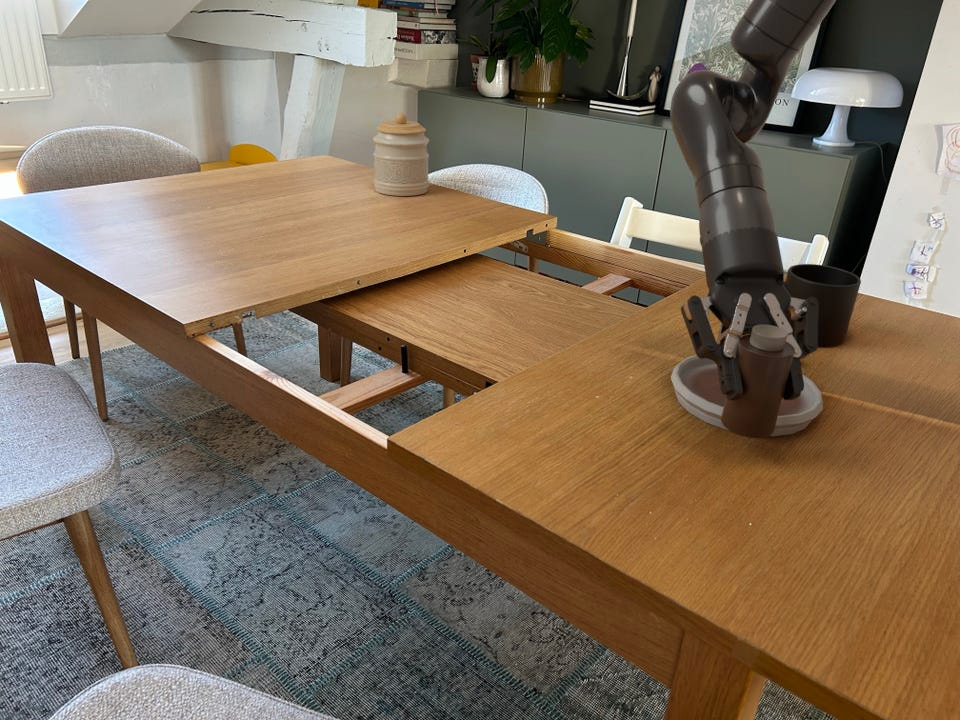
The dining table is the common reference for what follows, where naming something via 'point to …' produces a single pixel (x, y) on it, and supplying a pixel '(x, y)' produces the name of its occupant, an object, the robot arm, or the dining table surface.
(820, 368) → the dining table surface
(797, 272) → the mug
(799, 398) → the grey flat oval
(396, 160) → the jar
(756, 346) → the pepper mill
